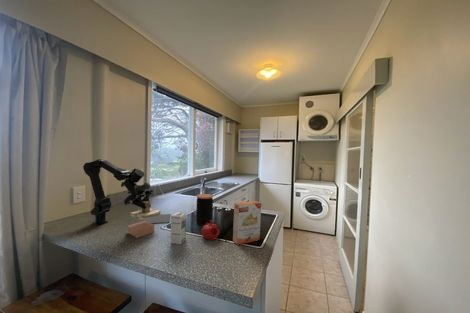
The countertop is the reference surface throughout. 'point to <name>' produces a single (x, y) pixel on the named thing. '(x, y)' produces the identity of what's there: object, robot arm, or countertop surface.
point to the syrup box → (178, 227)
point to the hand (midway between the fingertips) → (147, 207)
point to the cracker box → (246, 222)
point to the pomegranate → (210, 231)
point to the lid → (145, 212)
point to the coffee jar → (204, 209)
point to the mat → (159, 219)
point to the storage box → (140, 229)
